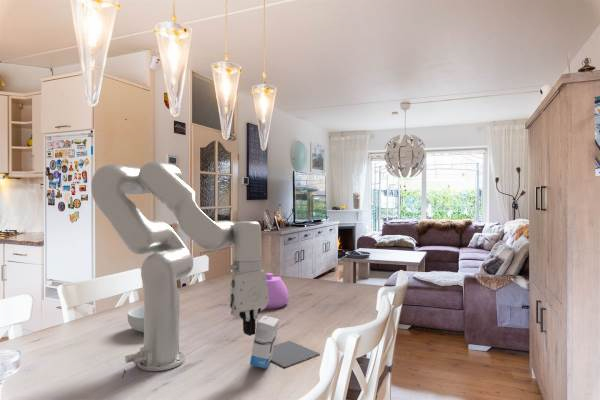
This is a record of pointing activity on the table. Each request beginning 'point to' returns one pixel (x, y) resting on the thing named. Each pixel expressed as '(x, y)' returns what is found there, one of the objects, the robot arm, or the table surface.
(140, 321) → the cereal bowl
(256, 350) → the ink box
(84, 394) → the table surface
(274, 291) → the teapot
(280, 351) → the mat
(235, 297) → the robot arm
